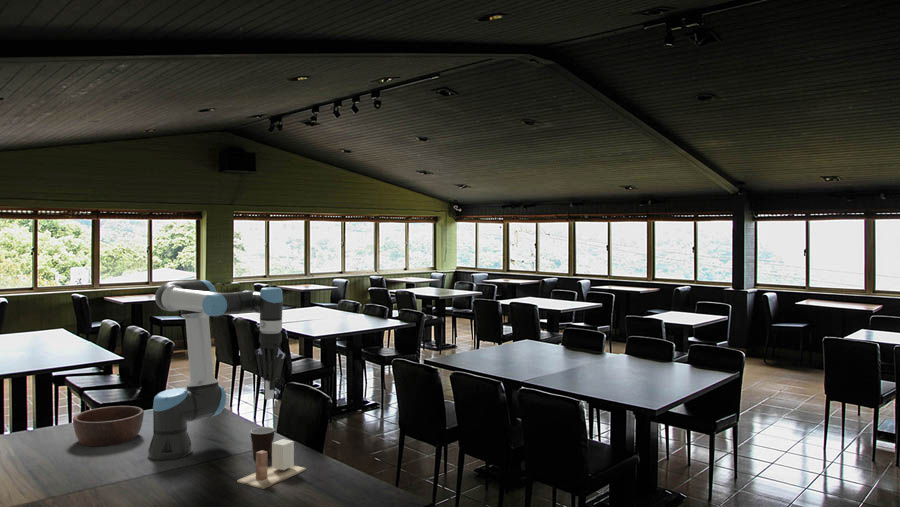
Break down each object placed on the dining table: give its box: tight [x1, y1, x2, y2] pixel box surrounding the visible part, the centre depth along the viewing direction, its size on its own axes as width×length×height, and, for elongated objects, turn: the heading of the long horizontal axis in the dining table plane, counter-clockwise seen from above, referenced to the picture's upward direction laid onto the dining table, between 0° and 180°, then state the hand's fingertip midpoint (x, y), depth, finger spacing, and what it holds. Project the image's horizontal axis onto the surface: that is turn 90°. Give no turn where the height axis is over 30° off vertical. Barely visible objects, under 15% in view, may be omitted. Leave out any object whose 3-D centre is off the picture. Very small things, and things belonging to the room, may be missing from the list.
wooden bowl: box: [72, 405, 145, 447], centre depth 253 cm, size 25×25×10 cm
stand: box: [236, 450, 307, 490], centre depth 215 cm, size 12×20×10 cm, turn 151°
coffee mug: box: [250, 426, 276, 461], centre depth 234 cm, size 12×9×10 cm
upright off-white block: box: [271, 438, 295, 470], centre depth 219 cm, size 5×5×9 cm
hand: (269, 398), depth 221 cm, fingers closed
